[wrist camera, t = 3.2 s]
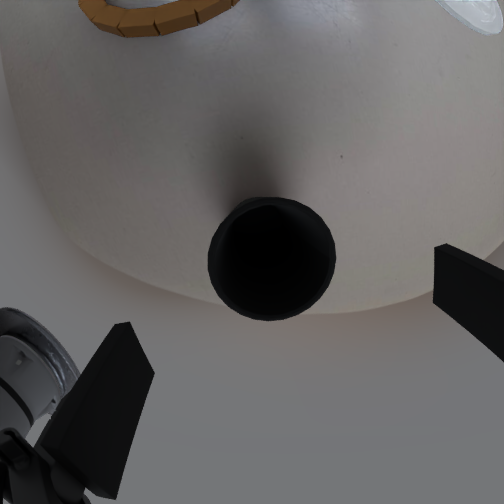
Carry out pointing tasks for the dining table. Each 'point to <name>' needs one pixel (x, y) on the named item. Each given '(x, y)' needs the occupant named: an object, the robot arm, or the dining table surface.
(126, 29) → the orange-brown segmented ring
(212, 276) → the cup
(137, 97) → the dining table surface
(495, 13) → the dish
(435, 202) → the dining table surface
